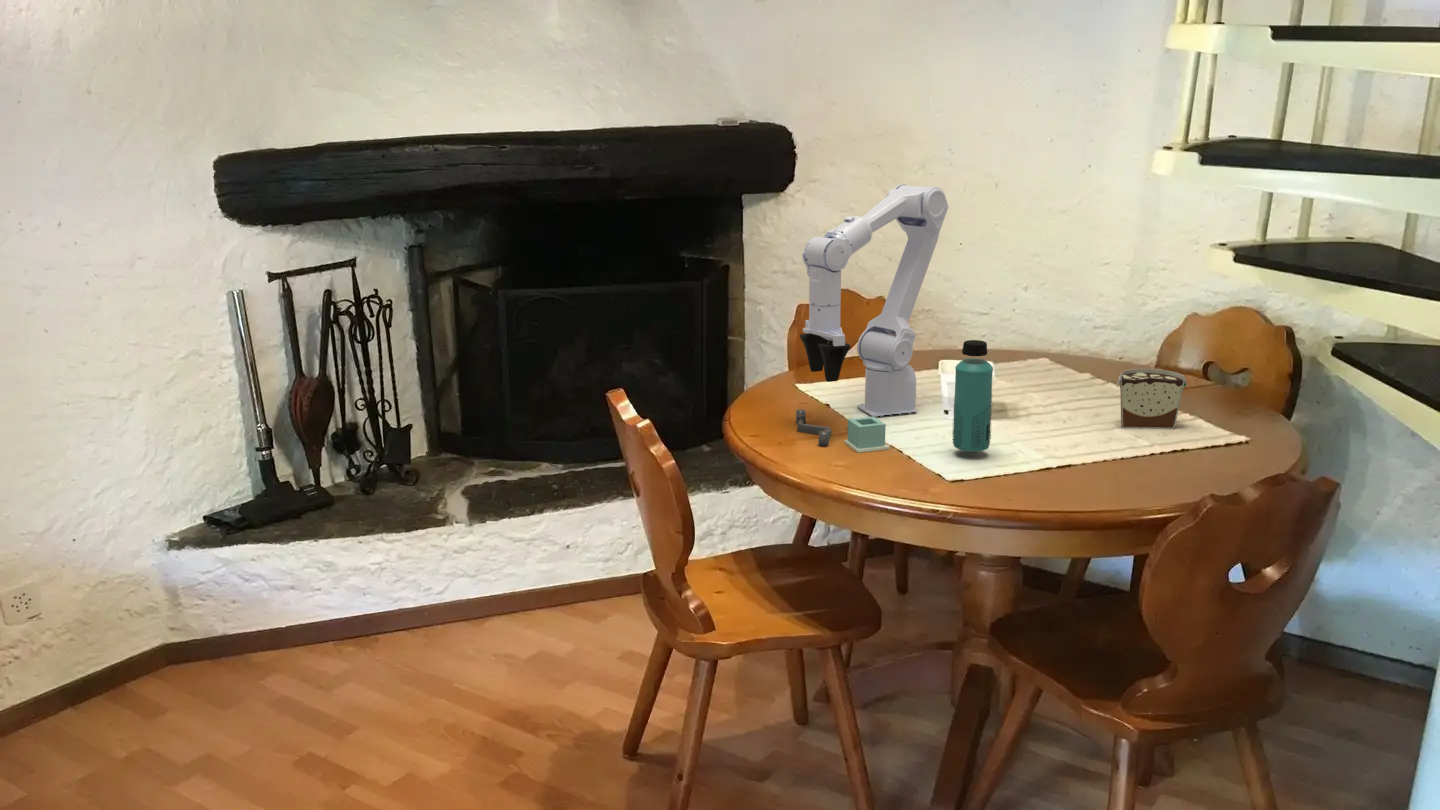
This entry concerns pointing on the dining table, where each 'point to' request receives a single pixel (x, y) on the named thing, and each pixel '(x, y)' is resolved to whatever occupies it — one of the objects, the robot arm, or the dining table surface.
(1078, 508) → the dining table surface
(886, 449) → the coaster
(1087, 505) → the dining table surface
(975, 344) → the beverage bottle
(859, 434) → the hollow square tube
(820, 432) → the grey zigzag bar
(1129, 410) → the food container
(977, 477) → the dining table surface
